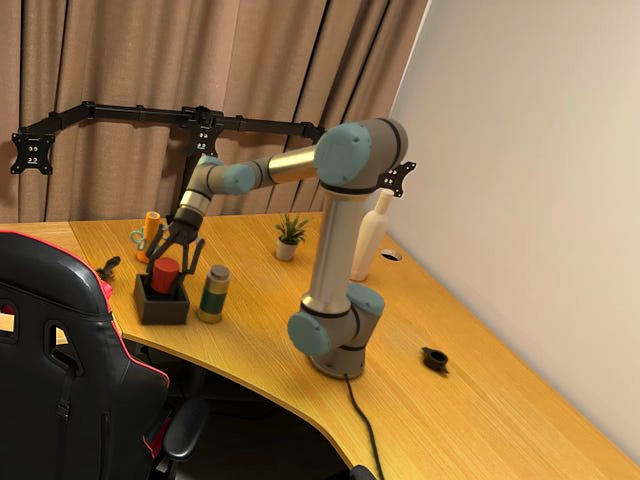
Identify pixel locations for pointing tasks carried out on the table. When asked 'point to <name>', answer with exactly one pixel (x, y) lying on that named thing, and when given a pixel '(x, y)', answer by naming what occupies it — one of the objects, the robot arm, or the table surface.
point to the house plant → (289, 237)
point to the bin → (160, 304)
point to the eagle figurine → (108, 268)
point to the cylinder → (147, 235)
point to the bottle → (371, 236)
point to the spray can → (214, 293)
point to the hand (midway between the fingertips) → (158, 289)
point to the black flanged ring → (435, 359)
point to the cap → (164, 274)
